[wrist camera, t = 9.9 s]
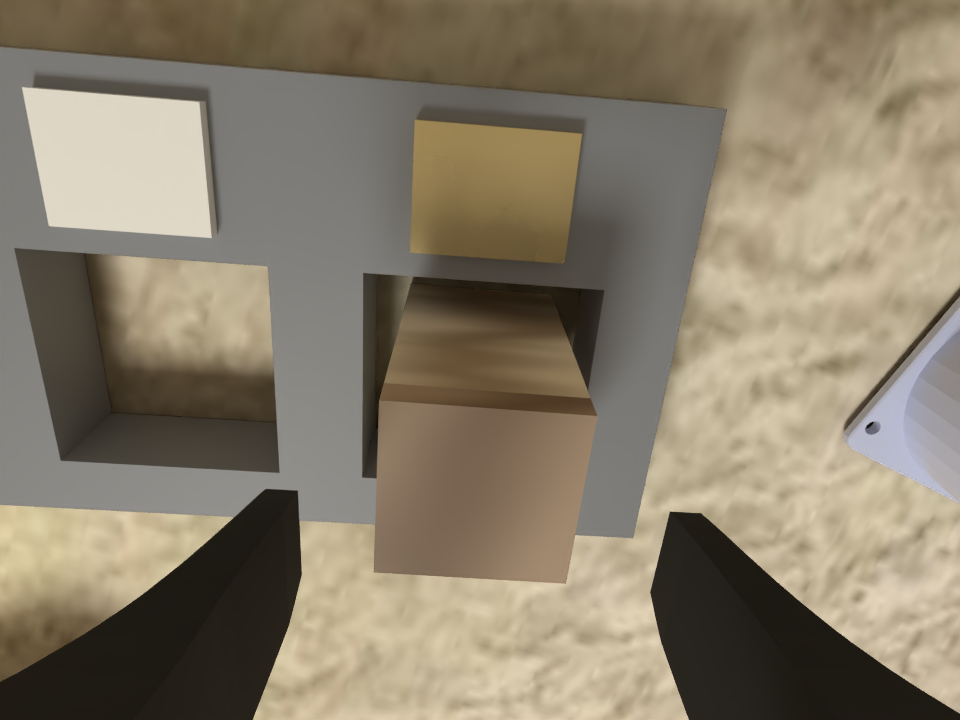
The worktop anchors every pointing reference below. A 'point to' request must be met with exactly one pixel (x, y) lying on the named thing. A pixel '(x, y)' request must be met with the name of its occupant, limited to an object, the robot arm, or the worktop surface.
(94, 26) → the worktop surface
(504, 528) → the plug
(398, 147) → the socket board
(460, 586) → the worktop surface
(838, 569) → the worktop surface
